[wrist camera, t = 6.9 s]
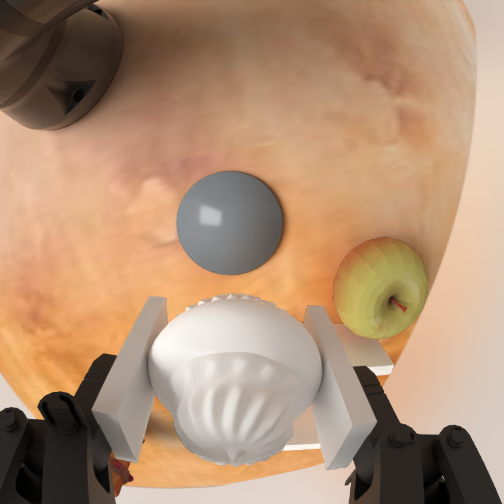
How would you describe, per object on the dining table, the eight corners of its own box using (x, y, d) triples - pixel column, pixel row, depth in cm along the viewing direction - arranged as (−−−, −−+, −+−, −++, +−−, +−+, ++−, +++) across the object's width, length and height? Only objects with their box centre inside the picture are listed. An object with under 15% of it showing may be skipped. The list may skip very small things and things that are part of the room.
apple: (402, 303, 31) (436, 339, 23) (327, 322, 31) (348, 367, 24) (403, 223, 28) (447, 245, 20) (319, 239, 28) (345, 268, 21)
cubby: (217, 318, 31) (211, 365, 23) (366, 323, 32) (394, 364, 24) (215, 401, 35) (211, 448, 27) (339, 402, 36) (354, 444, 28)
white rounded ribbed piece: (162, 358, 13) (128, 478, 7) (178, 245, 11) (112, 360, 5) (281, 380, 14) (300, 498, 8) (323, 277, 12) (392, 399, 6)
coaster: (180, 168, 26) (179, 168, 25) (287, 176, 26) (288, 176, 26) (177, 269, 29) (176, 270, 28) (275, 276, 29) (276, 278, 29)
